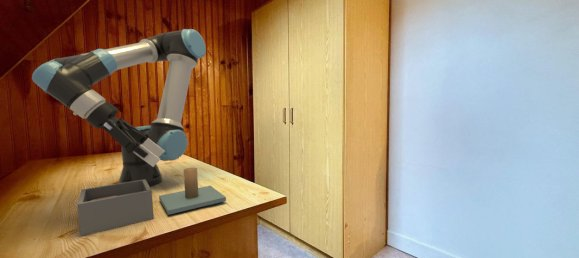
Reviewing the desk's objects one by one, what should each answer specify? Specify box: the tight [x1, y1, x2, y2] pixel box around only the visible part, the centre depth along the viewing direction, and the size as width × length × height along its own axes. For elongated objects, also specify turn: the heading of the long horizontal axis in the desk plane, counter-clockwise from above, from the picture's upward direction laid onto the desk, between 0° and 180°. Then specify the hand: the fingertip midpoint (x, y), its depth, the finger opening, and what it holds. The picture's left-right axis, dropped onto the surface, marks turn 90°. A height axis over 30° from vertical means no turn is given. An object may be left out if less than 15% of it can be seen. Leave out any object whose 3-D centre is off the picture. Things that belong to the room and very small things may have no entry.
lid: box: [158, 167, 227, 215], centre depth 84 cm, size 15×17×11 cm
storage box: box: [76, 179, 155, 237], centre depth 74 cm, size 14×16×8 cm
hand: (159, 158), depth 80 cm, fingers open, 13 cm apart
